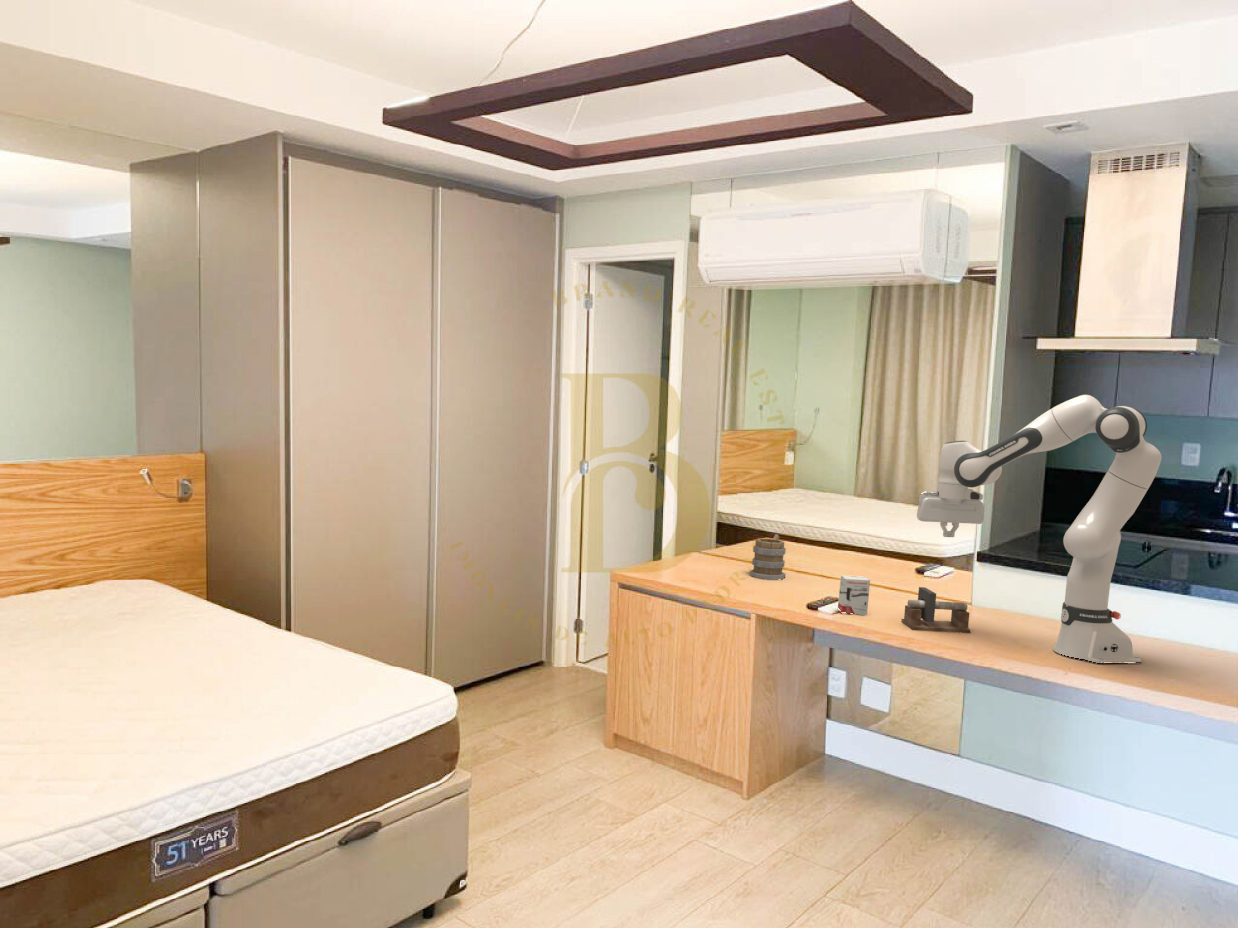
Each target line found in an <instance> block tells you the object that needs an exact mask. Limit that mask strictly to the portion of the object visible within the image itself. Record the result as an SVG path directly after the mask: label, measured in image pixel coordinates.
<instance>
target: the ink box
mask: <svg viewBox="0 0 1238 928" xmlns="http://www.w3.org/2000/svg"><path fill="white" fill-rule="evenodd" d="M870 586H871V579H869V578H868V577H866V576H865V575H864V576H863V575H862V576H861V575H846V574H845V575H840V582H839V590H838V591H839V593H838V604H837V609H838V608H839V609H840V610H841V612H846V613H853V614H858V615H857V616H867V615H868V608H869V599H870V597H869V596H870ZM853 614H852V615H853Z"/></svg>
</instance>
